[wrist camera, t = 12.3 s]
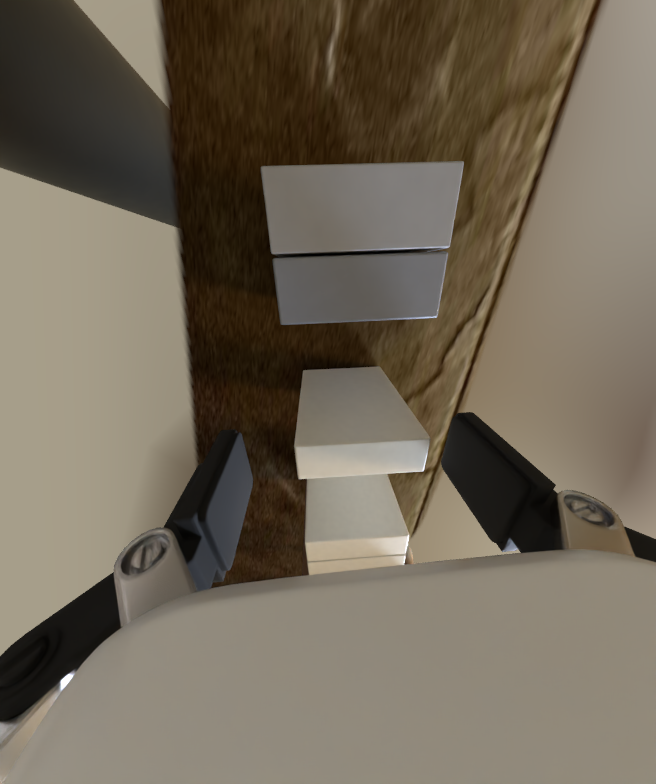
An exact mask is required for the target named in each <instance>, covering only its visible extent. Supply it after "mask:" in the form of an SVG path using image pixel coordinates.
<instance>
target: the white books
mask: <svg viewBox="0 0 656 784" xmlns="http://www.w3.org/2000/svg"><path fill="white" fill-rule="evenodd" d="M408 539H409V533H408V530H407V527H406V525H405V522H404V519H403V516H402V514H401V511H400V508H399V505H398V503H397V500H396V497H395V494H394V492H393V489H392V486H391V483H390V481H389V478H388V475H387V474H372V475H356V476H340V477H324V478H309V479H306V490H305V515H304V540H303V566H302V576H306V575H315V574H324V573H333V572H342V571H351V570H360V569H369V568H379V567H388V566H397V565H407V562H406V559H405V556H406V555H405V553H406V549H407V544H408Z"/></svg>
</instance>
